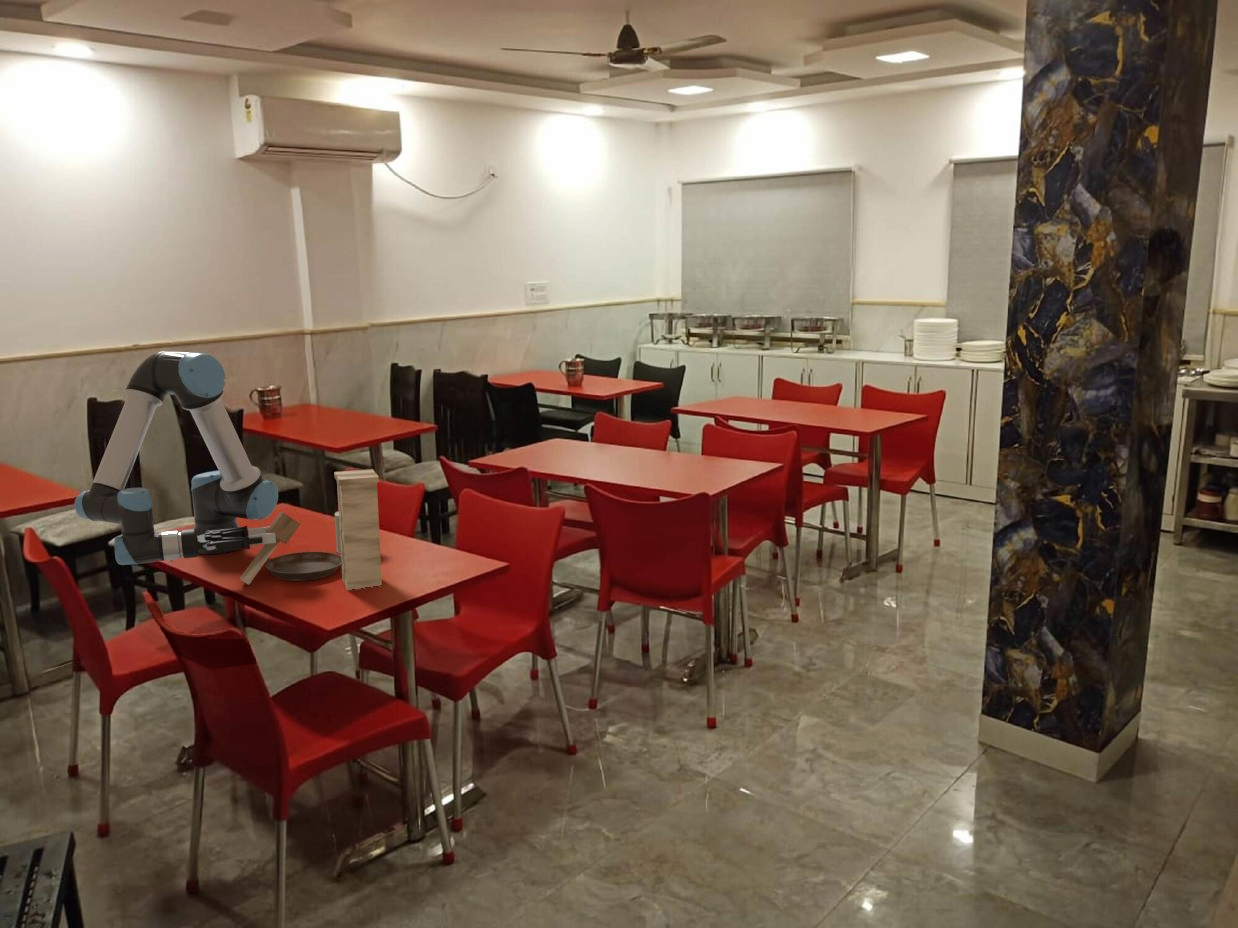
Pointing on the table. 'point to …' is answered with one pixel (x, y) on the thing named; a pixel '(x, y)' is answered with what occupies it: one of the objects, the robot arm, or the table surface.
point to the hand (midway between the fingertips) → (274, 534)
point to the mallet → (271, 544)
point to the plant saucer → (304, 565)
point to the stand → (359, 528)
